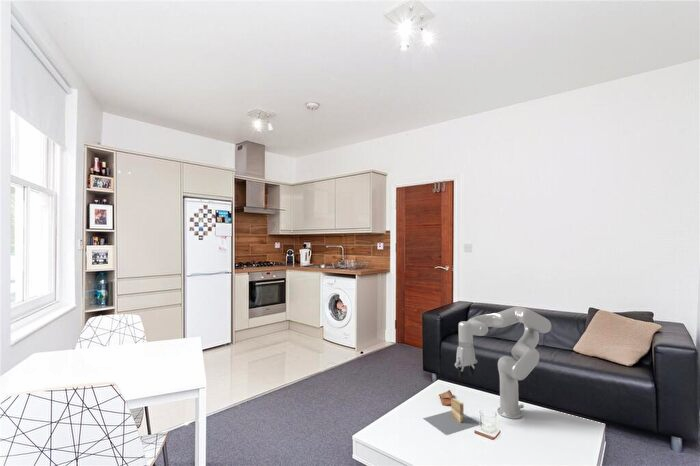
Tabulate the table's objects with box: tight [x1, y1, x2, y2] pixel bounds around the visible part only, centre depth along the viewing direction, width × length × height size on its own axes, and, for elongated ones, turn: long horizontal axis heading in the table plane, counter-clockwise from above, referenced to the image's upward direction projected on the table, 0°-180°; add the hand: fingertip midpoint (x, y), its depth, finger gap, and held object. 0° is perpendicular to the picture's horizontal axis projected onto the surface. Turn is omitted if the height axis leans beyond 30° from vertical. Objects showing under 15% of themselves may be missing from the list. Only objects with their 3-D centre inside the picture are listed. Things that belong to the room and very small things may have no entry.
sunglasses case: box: [438, 389, 454, 407], centre depth 215 cm, size 18×7×7 cm, turn 174°
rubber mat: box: [422, 410, 480, 436], centre depth 189 cm, size 24×19×1 cm
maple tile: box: [450, 398, 465, 423], centre depth 191 cm, size 3×7×10 cm, turn 26°
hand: (466, 376), depth 195 cm, fingers open, 6 cm apart
